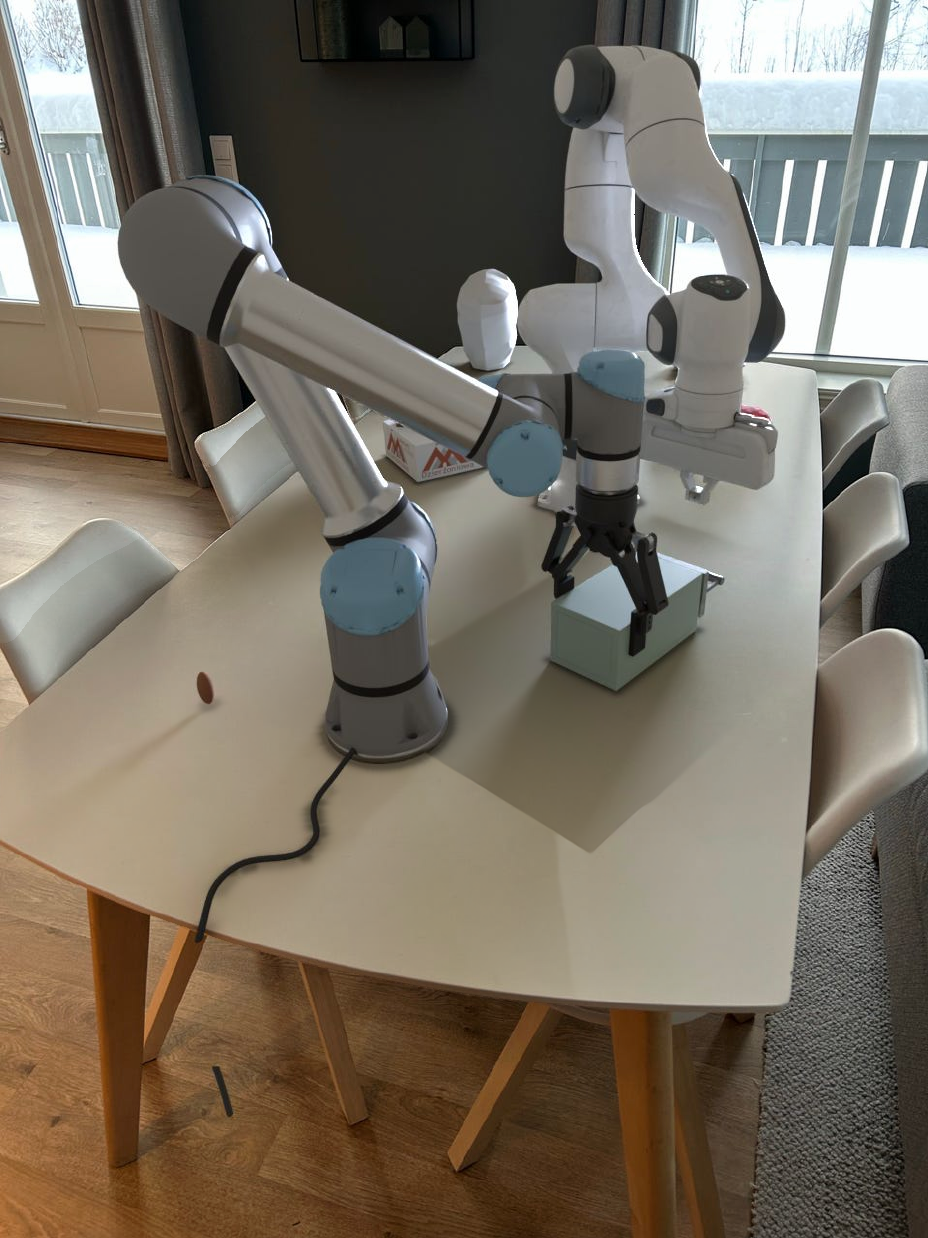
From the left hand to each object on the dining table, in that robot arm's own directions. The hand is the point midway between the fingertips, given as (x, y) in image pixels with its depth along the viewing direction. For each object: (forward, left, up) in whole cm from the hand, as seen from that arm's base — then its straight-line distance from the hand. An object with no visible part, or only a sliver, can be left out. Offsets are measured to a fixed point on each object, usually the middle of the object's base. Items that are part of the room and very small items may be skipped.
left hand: (599, 635), depth 121 cm
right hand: (+19, -12, +12) cm, 25 cm away
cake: (+82, -17, -5) cm, 84 cm away
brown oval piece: (-17, +49, -5) cm, 52 cm away
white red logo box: (+69, +39, -5) cm, 80 cm away
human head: (+138, +41, -5) cm, 144 cm away
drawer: (+11, -7, -4) cm, 13 cm away
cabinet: (+5, -3, -5) cm, 8 cm away
